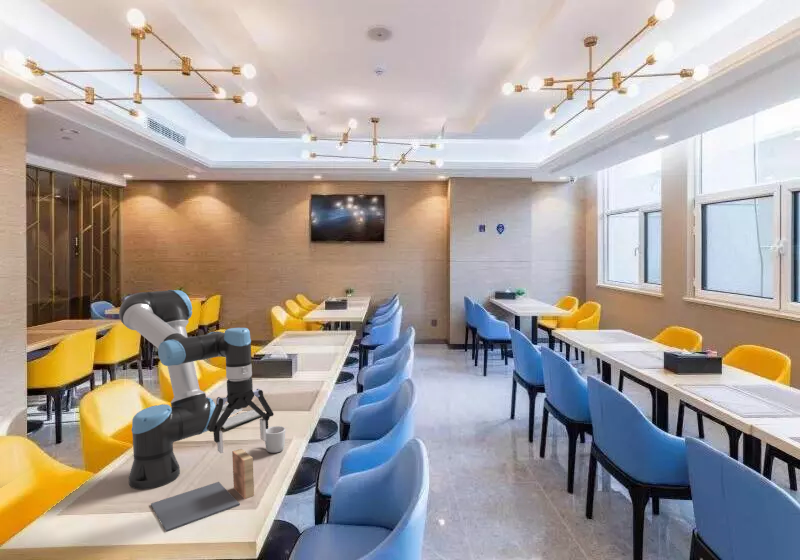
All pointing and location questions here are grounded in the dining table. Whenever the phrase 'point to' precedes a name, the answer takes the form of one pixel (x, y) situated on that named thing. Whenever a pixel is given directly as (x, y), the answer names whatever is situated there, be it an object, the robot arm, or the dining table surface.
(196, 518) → the slate mat
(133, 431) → the robot arm
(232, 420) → the mat
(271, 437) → the cup
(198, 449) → the dining table surface
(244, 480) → the tan block
